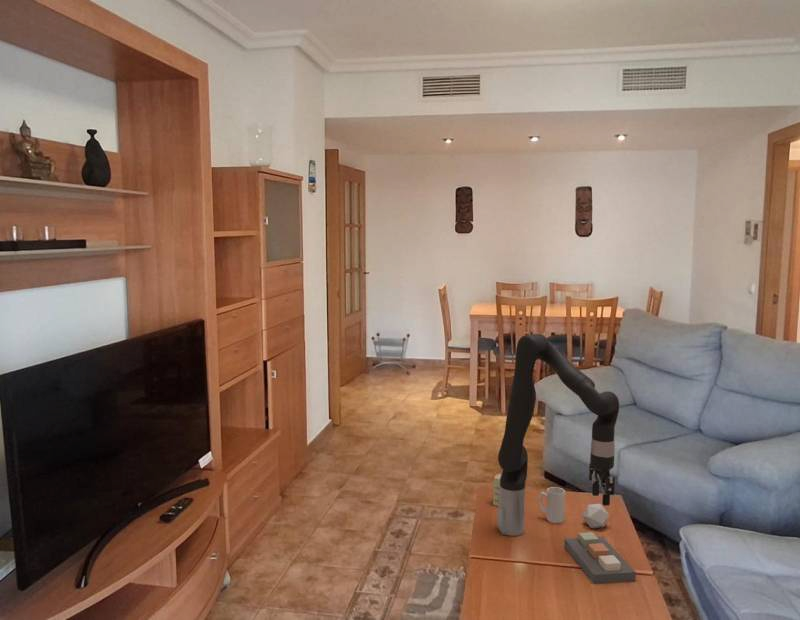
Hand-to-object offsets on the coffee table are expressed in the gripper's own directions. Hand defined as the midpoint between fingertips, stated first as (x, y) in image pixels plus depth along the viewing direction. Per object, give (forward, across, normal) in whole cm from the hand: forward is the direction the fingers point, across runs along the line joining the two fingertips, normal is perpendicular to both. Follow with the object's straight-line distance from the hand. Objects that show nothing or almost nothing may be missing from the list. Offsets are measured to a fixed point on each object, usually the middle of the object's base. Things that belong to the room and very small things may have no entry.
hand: (600, 500), depth 203 cm
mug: (+22, -33, -4) cm, 40 cm away
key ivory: (+20, +8, 0) cm, 22 cm away
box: (+22, -48, -17) cm, 56 cm away
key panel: (+22, 0, 0) cm, 22 cm away
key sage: (+20, -8, 0) cm, 22 cm away
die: (+22, -26, +11) cm, 36 cm away
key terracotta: (+20, 0, 0) cm, 20 cm away
